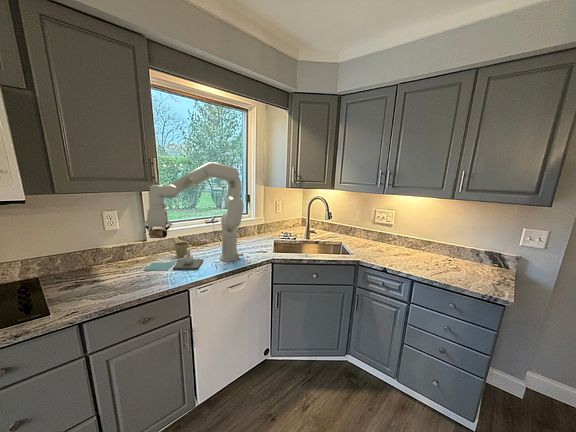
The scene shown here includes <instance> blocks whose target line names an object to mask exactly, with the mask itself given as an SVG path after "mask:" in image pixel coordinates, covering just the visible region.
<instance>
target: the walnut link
mask: <svg viewBox="0 0 576 432" xmlns="http://www.w3.org/2000/svg"><path fill="white" fill-rule="evenodd" d="M163 231H164V230H163V228H152V230H151V231H148V235H149V234H150V236H149V239H163Z"/></svg>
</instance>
